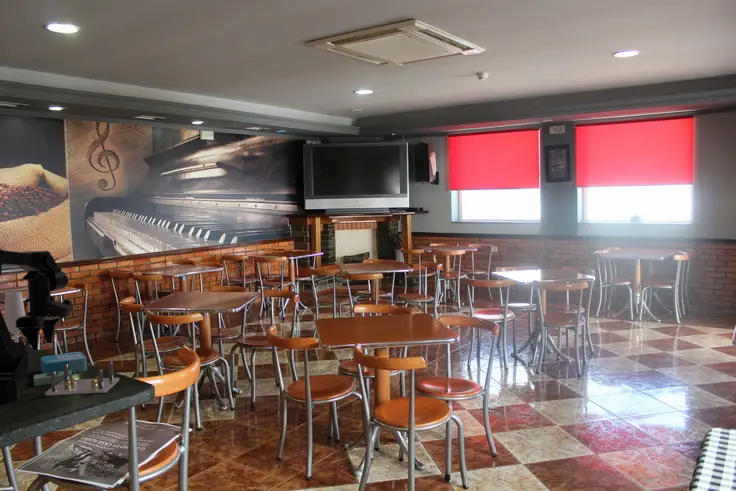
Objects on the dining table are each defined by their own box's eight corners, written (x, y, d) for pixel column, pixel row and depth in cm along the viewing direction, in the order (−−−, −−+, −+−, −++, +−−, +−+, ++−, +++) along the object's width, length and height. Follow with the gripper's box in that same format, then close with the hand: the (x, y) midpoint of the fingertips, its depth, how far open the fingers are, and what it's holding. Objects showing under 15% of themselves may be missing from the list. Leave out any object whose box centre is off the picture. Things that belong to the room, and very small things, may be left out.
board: (72, 382, 182) (71, 372, 182) (34, 387, 178) (33, 377, 178) (71, 378, 187) (71, 368, 187) (34, 383, 183) (33, 373, 183)
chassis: (105, 392, 169) (104, 371, 169) (45, 395, 167) (44, 374, 167) (119, 380, 181) (118, 360, 181) (63, 383, 179) (61, 363, 179)
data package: (80, 351, 202) (87, 357, 192) (81, 364, 203) (87, 371, 193) (39, 356, 196) (44, 363, 186) (40, 370, 196) (45, 378, 186)
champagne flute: (33, 360, 211) (29, 291, 210) (16, 365, 205) (12, 293, 203) (18, 359, 213) (14, 291, 212) (1, 364, 207) (-3, 293, 205)
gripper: (54, 296, 171) (57, 352, 172) (80, 288, 189) (82, 338, 190) (13, 298, 170) (16, 353, 171) (42, 290, 188) (45, 340, 189)
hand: (42, 346), depth 180 cm, fingers open, 9 cm apart
